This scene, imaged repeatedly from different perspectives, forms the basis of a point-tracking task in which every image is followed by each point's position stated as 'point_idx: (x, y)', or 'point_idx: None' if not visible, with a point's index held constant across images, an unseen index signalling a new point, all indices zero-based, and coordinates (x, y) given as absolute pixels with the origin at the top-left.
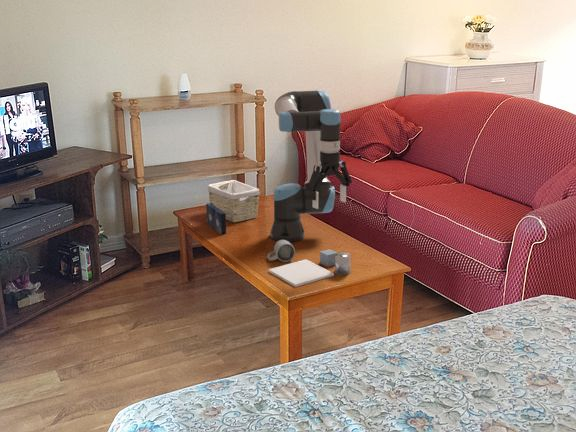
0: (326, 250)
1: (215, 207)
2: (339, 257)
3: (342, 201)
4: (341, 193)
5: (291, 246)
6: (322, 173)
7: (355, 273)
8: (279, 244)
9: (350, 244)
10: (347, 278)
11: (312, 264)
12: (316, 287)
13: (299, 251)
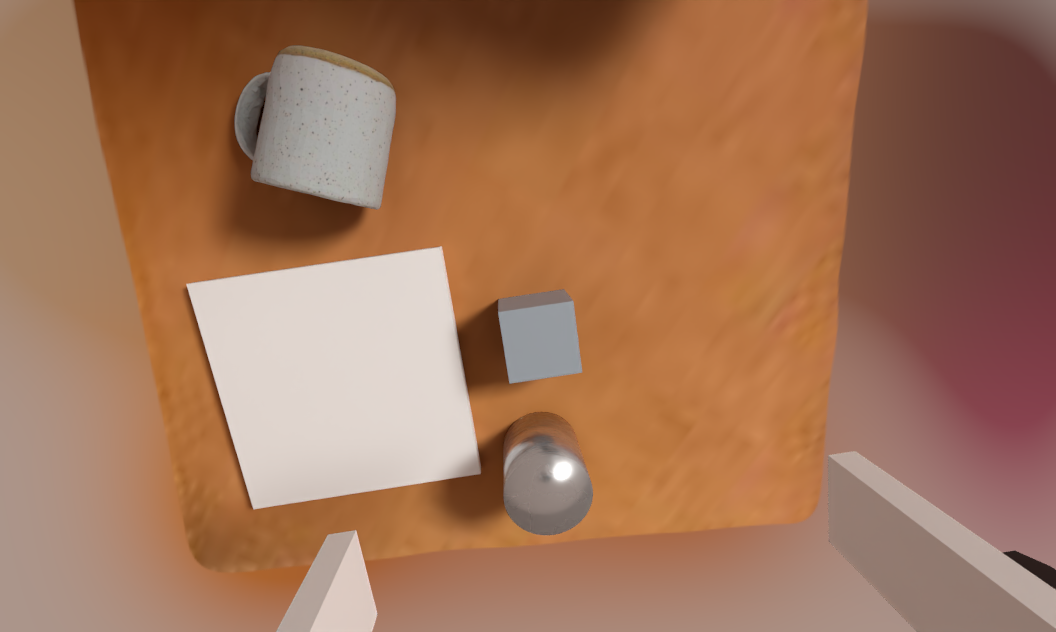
0: (542, 314)
1: None
2: (513, 516)
3: (831, 506)
4: (929, 563)
5: (368, 154)
6: None
7: None
8: (267, 140)
9: (801, 127)
10: None
11: (437, 331)
12: None
13: (479, 79)
